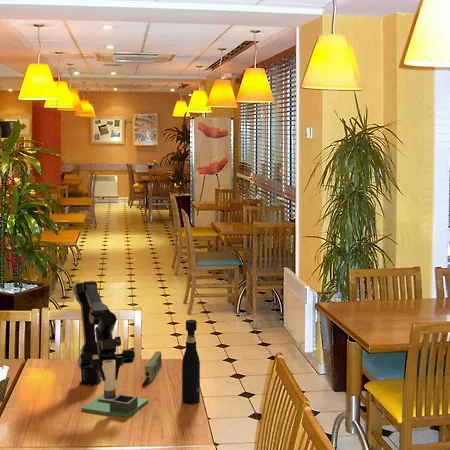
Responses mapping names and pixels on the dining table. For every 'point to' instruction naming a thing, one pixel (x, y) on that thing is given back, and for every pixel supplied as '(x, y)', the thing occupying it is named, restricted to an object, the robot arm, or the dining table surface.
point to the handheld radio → (152, 367)
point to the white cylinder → (109, 380)
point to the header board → (115, 405)
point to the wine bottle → (191, 367)
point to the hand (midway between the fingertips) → (110, 380)
